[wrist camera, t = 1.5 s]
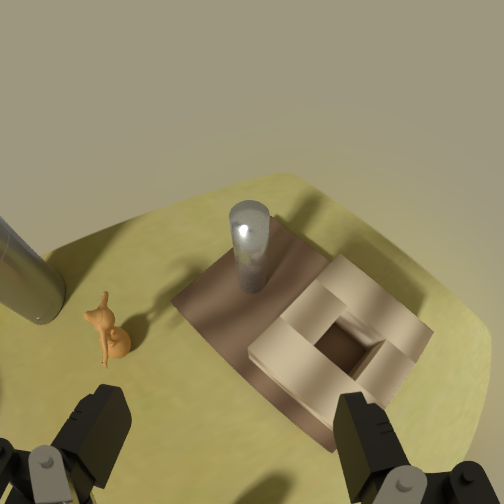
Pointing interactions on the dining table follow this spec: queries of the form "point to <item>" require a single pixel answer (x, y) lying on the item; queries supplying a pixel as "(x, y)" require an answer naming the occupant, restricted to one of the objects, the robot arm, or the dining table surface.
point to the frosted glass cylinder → (250, 244)
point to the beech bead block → (351, 323)
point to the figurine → (109, 331)
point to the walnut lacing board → (264, 318)
